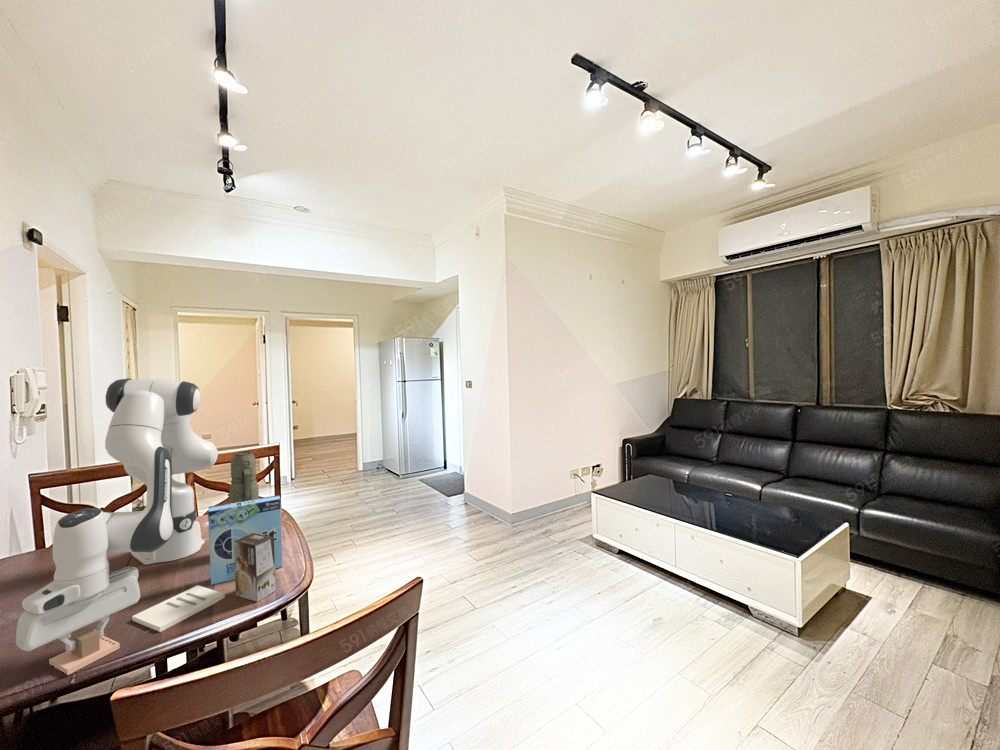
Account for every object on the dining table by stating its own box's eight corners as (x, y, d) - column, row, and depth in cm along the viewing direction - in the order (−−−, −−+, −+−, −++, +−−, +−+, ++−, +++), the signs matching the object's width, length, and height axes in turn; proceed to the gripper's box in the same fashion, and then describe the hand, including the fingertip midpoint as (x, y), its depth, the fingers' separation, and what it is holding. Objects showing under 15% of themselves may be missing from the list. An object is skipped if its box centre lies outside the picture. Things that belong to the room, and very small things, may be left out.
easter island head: (237, 561, 139) (235, 458, 138) (225, 551, 146) (223, 453, 145) (266, 551, 146) (263, 453, 145) (253, 542, 153) (250, 449, 152)
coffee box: (277, 590, 121) (275, 536, 120) (257, 602, 115) (255, 545, 114) (254, 584, 124) (253, 532, 124) (234, 596, 118) (232, 540, 118)
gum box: (281, 561, 138) (279, 494, 138) (282, 568, 134) (281, 498, 134) (210, 578, 128) (208, 505, 127) (210, 586, 124) (207, 510, 123)
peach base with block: (49, 664, 91) (48, 641, 91) (101, 639, 100) (100, 618, 100) (67, 675, 88) (66, 651, 88) (119, 648, 97) (119, 626, 96)
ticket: (132, 620, 107) (132, 615, 107) (197, 589, 122) (197, 584, 122) (160, 632, 102) (160, 626, 102) (224, 598, 117) (224, 593, 117)
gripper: (130, 560, 104) (132, 614, 105) (10, 604, 85) (13, 670, 86) (145, 565, 102) (147, 620, 102) (25, 611, 83) (28, 678, 83)
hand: (85, 643), depth 94 cm, fingers closed on peach base with block, 3 cm apart
